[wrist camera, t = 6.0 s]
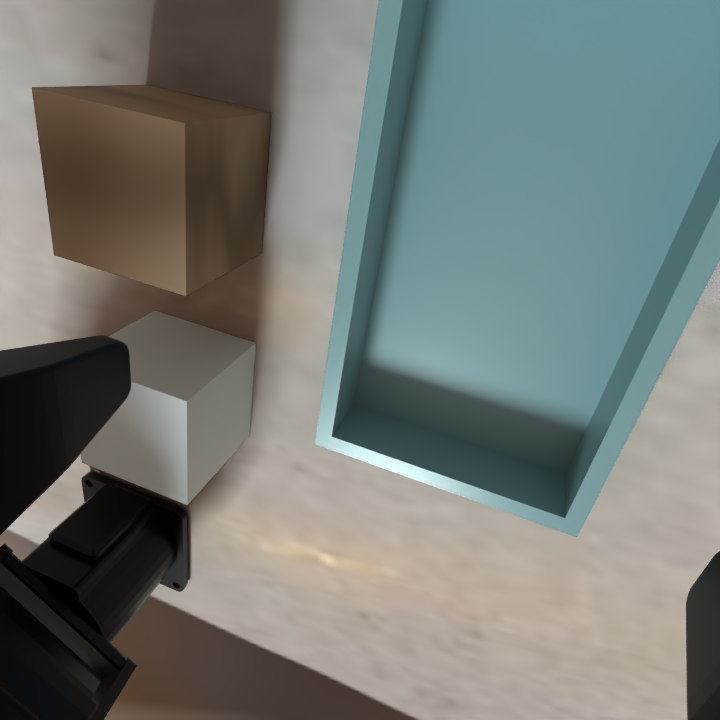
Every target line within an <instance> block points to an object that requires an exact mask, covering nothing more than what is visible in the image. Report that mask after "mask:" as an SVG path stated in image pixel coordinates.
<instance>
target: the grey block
mask: <svg viewBox="0 0 720 720" xmlns="http://www.w3.org/2000/svg"><path fill="white" fill-rule="evenodd" d="M108 337H111V338H113V339H116V340H119V341H122V342H124V343H125V344H126V345H127V346H128V349H129V353H130V370H131V390H130V393H129V395H128V397H127V399H126V400H125V401H124V403H123V404H122V405H121V406H120V407H119V409H118V410H117V411H116V412H115V413H114V415H113V416H112V417H111V418H110V419H109V421H108V422H107V423H106V424H105V425H104V426H103V428H102V429H101V430H100V431H99V432H98V434H97V435H96V436H95V437H94V438H93V440H92V441H91V442H90V443H89V444H88V446H87V447H86V448H85V449H84V450H83V452H82V453H81V459H82V463H84V464H87V465H89V466H91V467H94V468H96V469H99V470H101V471H104V472H106V473H109V474H111V475H114V476H116V477H119V478H121V479H124V480H126V481H129V482H131V483H134V484H136V485H139V486H141V487H143V488H146V489H148V490H151V491H153V492H156V493H158V494H161V495H163V496H166V497H168V498H171V499H173V500H176V501H178V502H181V503H183V504H186V505H188V504H189V503H190V502H191V501H192V500H193V498H194V497H195V496H196V495H197V494H198V493H199V492H200V491H201V490H202V488H203V487H204V486H205V485H206V484H207V483H208V482H209V481H210V480H211V478H212V477H213V476H214V475H215V474H216V473H217V472H218V471H219V470H220V468H221V467H222V466H223V465H224V464H225V463H226V462H227V461H228V459H229V458H230V457H231V456H232V455H233V454H234V453H235V452H236V451H237V449H238V448H239V447H240V446H241V445H242V444H243V443H244V442H245V441H246V439H247V438H248V437H249V436H250V425H251V410H252V395H253V381H254V366H255V351H256V343H254V342H251V341H248V340H245V339H242V338H239V337H236V336H233V335H229V334H226V333H223V332H220V331H217V330H214V329H211V328H208V327H205V326H201V325H198V324H195V323H192V322H189V321H186V320H183V319H180V318H177V317H173V316H170V315H167V314H164V313H161V312H158V311H153V312H151V313H149V314H147V315H146V316H144V317H142V318H140V319H139V320H137V321H135V322H133V323H131V324H130V325H128V326H126V327H124V328H123V329H121V330H119V331H117V332H115V333H114V334H112V335H110V336H108Z"/></svg>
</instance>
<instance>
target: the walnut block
mask: <svg viewBox="0 0 720 720" xmlns="http://www.w3.org/2000/svg"><path fill="white" fill-rule="evenodd" d="M32 93H33V100H34V108H35V115H36V123H37V130H38V138H39V145H40V153H41V160H42V168H43V175H44V183H45V190H46V198H47V205H48V213H49V220H50V228H51V235H52V243H53V250H54V255H55V256H58V257H62V258H65V259H68V260H71V261H74V262H78V263H81V264H84V265H87V266H91V267H94V268H97V269H100V270H103V271H107V272H110V273H113V274H116V275H119V276H123V277H126V278H129V279H132V280H136V281H139V282H142V283H145V284H148V285H152V286H155V287H158V288H161V289H164V290H168V291H171V292H174V293H177V294H181V295H184V296H187V295H189V294H191V293H193V292H194V291H196V290H198V289H200V288H201V287H203V286H205V285H207V284H208V283H210V282H212V281H214V280H215V279H217V278H219V277H221V276H222V275H224V274H226V273H228V272H229V271H231V270H233V269H235V268H236V267H238V266H240V265H242V264H243V263H245V262H247V261H249V260H250V259H252V258H254V257H256V256H257V255H259V254H261V253H262V246H263V231H264V216H265V202H266V187H267V172H268V158H269V143H270V128H271V112H266V111H262V110H257V109H253V108H248V107H244V106H239V105H235V104H230V103H226V102H221V101H217V100H212V99H208V98H203V97H199V96H194V95H190V94H185V93H180V92H176V91H171V90H167V89H162V88H158V87H153V86H149V85H117V86H72V87H32Z"/></svg>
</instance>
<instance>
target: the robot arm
mask: <svg viewBox="0 0 720 720" xmlns="http://www.w3.org/2000/svg"><path fill="white" fill-rule="evenodd" d="M130 390H131V370H130V353H129V349H128V346H127V345H126V344H125V343H124V342H122V341H119V340H116V339H113V338H111V337H108V336H102V335H101V336H93V337H87V338H80V339H74V340H67V341H61V342H54V343H47V344H41V345H34V346H28V347H21V348H15V349H8V350H2V351H0V535H1V534H2V533H3V532H4V531H5V530H6V529H7V528H8V527H9V526H10V525H11V524H12V523H13V522H14V521H15V520H16V519H17V518H18V517H19V516H20V515H21V514H22V513H23V512H24V511H25V510H26V509H27V508H28V507H29V506H30V505H31V504H32V503H33V502H34V501H35V500H36V499H38V498H39V497H40V496H41V495H42V494H43V493H44V492H45V491H46V490H47V489H48V488H49V487H50V486H51V485H52V484H53V483H54V482H55V481H56V480H57V479H58V478H59V477H60V476H61V475H62V474H63V473H64V472H65V471H66V470H67V469H68V468H69V466H70V465H71V464H72V463H73V462H74V461H75V460H76V459H77V457H78V456H79V455H80V454H81V453H82V452H83V450H84V449H85V448H86V447H87V446H88V444H89V443H90V442H91V441H92V440H93V438H94V437H95V436H96V435H97V434H98V432H99V431H100V430H101V429H102V428H103V426H104V425H105V424H106V423H107V422H108V421H109V419H110V418H111V417H112V416H113V415H114V413H115V412H116V411H117V410H118V409H119V407H120V406H121V405H122V404H123V403H124V401H125V400H126V399H127V397H128V395H129V393H130ZM82 487H83V494H84V501H85V502H84V503H83V504H82V505H81V506H80V507H79V508H78V509H76V510H75V511H74V512H73V513H72V514H71V515H70V516H68V517H67V518H66V519H65V520H64V521H63V522H62V523H60V524H59V525H58V526H57V527H56V528H55V529H54V530H52V531H51V532H50V534H49V537H48V538H47V539H46V540H45V541H44V542H43V543H42V544H40V545H39V546H38V547H37V548H36V549H35V550H34V551H32V552H31V553H30V554H29V555H28V556H27V557H26V558H25V559H23V560H22V561H20V560H19V559H18V558H17V557H16V556H15V555H14V554H13V553H12V552H13V550H12V549H11V548H9V547H8V546H7V545H6V544H3V545H2V546H1V547H0V720H104V718H105V717H106V715H107V713H108V712H109V710H110V708H111V707H112V705H113V704H114V702H115V700H116V699H117V697H118V696H119V694H120V692H121V691H122V689H123V687H124V686H125V684H126V682H127V681H128V679H129V678H130V676H131V674H132V673H133V671H134V670H135V668H136V666H137V665H136V663H135V662H133V661H132V660H131V659H130V658H126V657H125V656H124V655H123V654H122V653H120V652H119V651H118V650H117V649H116V648H115V647H114V646H113V645H112V644H111V642H112V641H113V640H114V638H115V637H116V636H117V635H118V633H119V632H120V631H121V629H122V628H123V627H124V626H125V625H126V624H127V622H128V621H129V620H130V619H131V617H132V616H133V615H134V614H135V613H136V611H137V610H138V609H139V608H140V606H141V605H142V604H143V603H144V601H145V600H146V599H147V597H149V595H150V594H151V593H152V592H153V590H154V589H155V588H156V587H157V586H158V584H159V583H160V584H162V585H165V586H167V587H169V588H171V589H174V590H176V591H183V590H184V588H185V587H186V586H187V583H188V577H187V514H186V513H185V511H184V510H183V509H181V508H180V507H178V506H175V505H173V504H170V503H168V502H165V501H163V500H160V499H158V498H155V497H153V496H150V495H148V494H145V493H143V492H140V491H138V490H136V489H133V488H131V487H128V486H126V485H123V484H121V483H118V482H116V481H113V480H111V479H108V478H106V477H103V476H101V475H99V474H96V473H94V472H88V473H87V474H86V475H85V476H83V477H82ZM686 659H687V716H688V720H720V551H719V552H718V553H716V555H715V556H714V557H713V558H712V559H711V561H710V562H709V564H708V565H707V566H706V568H705V569H704V571H703V572H702V573H701V575H700V576H699V578H698V579H697V580H696V582H695V583H694V584H693V586H692V587H691V589H690V591H689V594H688V597H687V602H686Z"/></svg>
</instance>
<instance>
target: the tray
mask: <svg viewBox="0 0 720 720" xmlns="http://www.w3.org/2000/svg"><path fill="white" fill-rule="evenodd" d="M719 259H720V0H379V3H378V10H377V17H376V24H375V31H374V38H373V45H372V52H371V58H370V65H369V72H368V79H367V86H366V93H365V100H364V107H363V114H362V121H361V128H360V134H359V141H358V148H357V155H356V162H355V169H354V176H353V183H352V190H351V197H350V203H349V210H348V217H347V224H346V231H345V238H344V245H343V252H342V259H341V266H340V272H339V279H338V286H337V293H336V300H335V307H334V314H333V321H332V328H331V335H330V342H329V348H328V355H327V362H326V369H325V376H324V383H323V390H322V397H321V404H320V411H319V417H318V424H317V431H316V438H315V444H316V445H319V446H322V447H325V448H327V449H330V450H333V451H336V452H339V453H341V454H344V455H347V456H350V457H353V458H356V459H358V460H361V461H364V462H367V463H370V464H372V465H375V466H378V467H381V468H384V469H386V470H389V471H392V472H395V473H398V474H401V475H403V476H406V477H409V478H412V479H415V480H417V481H420V482H423V483H426V484H429V485H431V486H434V487H437V488H440V489H443V490H446V491H448V492H451V493H454V494H457V495H460V496H462V497H465V498H468V499H471V500H474V501H476V502H479V503H482V504H485V505H488V506H491V507H493V508H496V509H499V510H502V511H505V512H507V513H510V514H513V515H516V516H519V517H522V518H524V519H527V520H530V521H533V522H536V523H538V524H541V525H544V526H547V527H550V528H552V529H555V530H558V531H561V532H564V533H567V534H569V535H572V536H575V537H577V536H578V534H579V532H580V530H581V528H582V526H583V525H584V523H585V521H586V519H587V517H588V515H589V513H590V511H591V509H592V507H593V505H594V503H595V501H596V499H597V497H598V495H599V493H600V491H601V489H602V487H603V486H604V484H605V482H606V480H607V478H608V476H609V474H610V472H611V470H612V468H613V466H614V464H615V462H616V460H617V458H618V456H619V454H620V452H621V450H622V448H623V447H624V445H625V443H626V441H627V439H628V437H629V435H630V433H631V431H632V429H633V427H634V425H635V423H636V421H637V419H638V417H639V415H640V413H641V411H642V409H643V408H644V406H645V404H646V402H647V400H648V398H649V396H650V394H651V392H652V390H653V388H654V386H655V384H656V382H657V380H658V378H659V376H660V374H661V372H662V371H663V369H664V367H665V365H666V363H667V361H668V359H669V357H670V355H671V353H672V351H673V349H674V347H675V345H676V343H677V341H678V339H679V337H680V335H681V333H682V332H683V330H684V328H685V326H686V324H687V322H688V320H689V318H690V316H691V314H692V312H693V310H694V308H695V306H696V304H697V302H698V300H699V298H700V296H701V294H702V293H703V291H704V289H705V287H706V285H707V283H708V281H709V279H710V277H711V275H712V273H713V271H714V269H715V267H716V265H717V263H718V261H719Z"/></svg>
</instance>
